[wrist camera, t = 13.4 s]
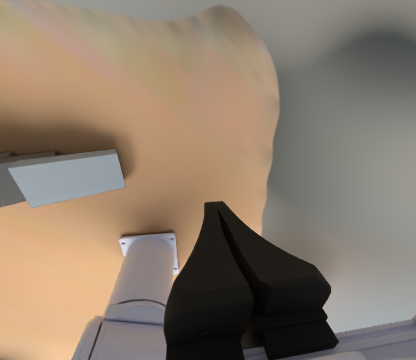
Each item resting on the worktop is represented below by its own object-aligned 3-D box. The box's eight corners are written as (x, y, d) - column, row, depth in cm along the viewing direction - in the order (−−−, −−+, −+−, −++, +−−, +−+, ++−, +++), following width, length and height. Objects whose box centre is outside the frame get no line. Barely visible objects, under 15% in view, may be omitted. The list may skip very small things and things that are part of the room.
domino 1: (54, 155, 16) (-88, 176, 12) (69, 190, 18) (-49, 219, 14) (55, 150, 18) (-72, 167, 13) (69, 183, 20) (-39, 207, 15)
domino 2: (117, 153, 17) (7, 168, 13) (125, 187, 19) (31, 208, 15) (115, 148, 19) (17, 160, 15) (123, 180, 20) (37, 197, 17)
